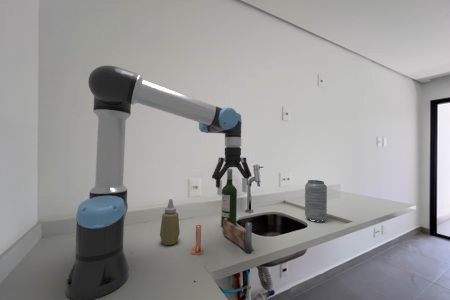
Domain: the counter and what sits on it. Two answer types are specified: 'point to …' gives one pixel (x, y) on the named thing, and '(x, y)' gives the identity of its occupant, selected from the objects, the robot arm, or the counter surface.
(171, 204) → the squeeze bottle
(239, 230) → the gate
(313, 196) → the vase
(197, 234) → the gate posts
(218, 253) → the counter surface
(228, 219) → the wine bottle
